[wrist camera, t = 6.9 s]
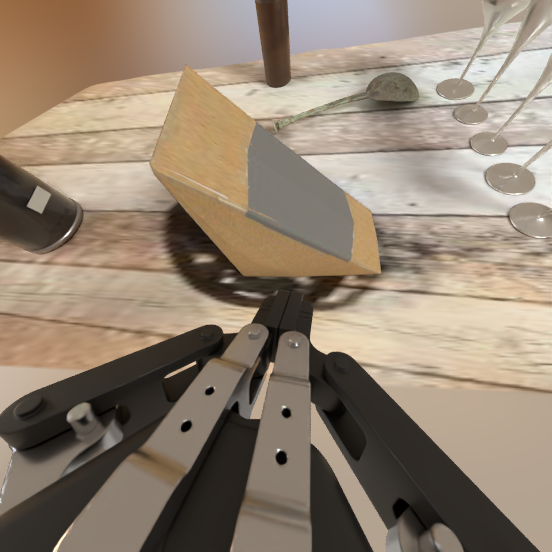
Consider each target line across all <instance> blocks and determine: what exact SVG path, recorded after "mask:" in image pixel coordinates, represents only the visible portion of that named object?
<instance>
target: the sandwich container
mask: <svg viewBox="0 0 552 552" xmlns="http://www.w3.org/2000/svg"><path fill="white" fill-rule="evenodd" d="M149 164H150V166H151V168H152V171H153V173H154V175H155V176H156V177H157V178H158V180H159V181H160V182H161V183H162V184H163V185H164V186H165V188H166V189H167V190H168V191H169V192H170V193H171V194H172V195H173V197H174V198H175V199H176V200H177V201H178V202H179V203H180V205H181V206H182V207H183V208H184V209H185V210H186V211H187V212H188V214H189V215H190V216H191V217H192V218H193V219H194V220H195V222H196V223H197V224H198V225H199V226H200V227H201V228H202V230H203V231H204V232H205V233H206V234H207V235H208V236H209V237H210V239H211V240H212V241H213V242H214V243H215V244H216V245H217V247H218V248H219V249H220V250H221V251H222V252H223V253H224V254H225V256H226V257H227V258H228V259H229V260H230V261H231V262H232V263H233V265H234V266H235V267H236V268H237V269H238V270H239V271H240V273H241V274H242V275H244V276H272V277H305V276H333V275H362V274H381V269H380V260H379V252H378V243H377V237H376V232H375V228H374V223H373V218H372V214H371V211H370V210H369V209H368V208H366V207H365V206H363V205H362V204H361V203H359V202H358V201H357V200H355V199H354V198H353V197H351V196H350V195H349V194H347V193H346V192H345V191H343V190H342V189H341V188H339V187H338V186H337V185H336V184H334V183H333V182H332V181H330V180H329V179H328V178H326V177H325V176H324V175H323V174H321V173H320V172H319V171H317V170H316V169H315V168H314V167H312V166H311V165H310V164H309V163H307V162H306V161H305V160H304V159H303V158H301V157H300V156H299V155H297V154H296V153H295V152H293V151H292V150H291V149H289V148H288V147H287V146H286V145H284V144H283V143H282V142H280V141H279V140H278V139H277V138H275V137H274V136H273V135H272V134H270V133H269V132H268V131H267V130H266V129H264V128H263V127H262V126H261V125H259V124H258V123H257V122H256V121H254V120H253V119H252V118H251V117H250V116H248V115H247V114H246V113H245V112H243V111H242V110H241V109H240V108H238V107H237V106H236V105H235V104H234V103H232V102H231V101H230V100H229V99H227V98H226V97H225V96H224V95H222V94H221V93H220V92H219V91H218V90H216V89H215V88H214V87H213V86H211V85H210V84H209V83H208V82H207V81H205V80H204V79H203V78H202V77H201V76H199V75H198V74H197V73H196V72H195V71H193V70H192V69H191V68H190V67H188V66H187V65H186V66H185V68H184V71H183V74H182V76H181V79H180V82H179V84H178V87H177V90H176V92H175V95H174V98H173V100H172V103H171V106H170V109H169V111H168V114H167V117H166V120H165V122H164V125H163V128H162V130H161V133H160V136H159V139H158V141H157V144H156V147H155V150H154V152H153V155H152V158H151V160H150V163H149Z"/></svg>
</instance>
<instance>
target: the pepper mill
mask: <svg viewBox="0 0 552 552" xmlns="http://www.w3.org/2000/svg"><path fill="white" fill-rule="evenodd" d="M255 3H256V10H257V17H258V25H259V32H260V39H261V46H262V53H263V61H264V68H265V75H266V82H267V84H268V85H269V86H270V87H281V86H284V85H286V84H287V83H288V82H289V81H290V80H291V68H290V49H289V48H290V47H289V26H288V5H287V0H255Z"/></svg>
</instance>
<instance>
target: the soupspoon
mask: <svg viewBox="0 0 552 552" xmlns="http://www.w3.org/2000/svg"><path fill="white" fill-rule="evenodd" d="M367 98H370V99H374V100H384V101H399V102H401V101H413V102H414V101H416V100H418V98H419V93H418V90H417V87H416V86H415V84H414V83H413V81H412V80H411V79H410V78H409V77H407V76H405V75H403V74H401V73H395V72H391V73H385V74H382V75H380V76H378V77H376V78H374V79H373V80H372V81H371V82H370V84H369V85H368V87H367V90H366V92H364V93H360V94H356V95H352V96H349V97H345V98H342V99H339V100H337V101H334V102H331V103H328V104H325V105H323V106H320V107H317V108H314V109H312V110H309V111H306V112H303V113H301V114H298V115H296V116H293V117H292V116H290V118H289V119H287V118H285V119H283V120H281V121H280V120H278V121H277V123H275V122H274V121H273V125H274V129H275V132H276V134H277V133H278V129H282V127H284V126H287V125H288V124H289V123H290V122H291V123H293V122H294V121H295V120H298V119H301V118H304V117H306V116H309V115H312V114H315V113H318V112H322V111H325V110H327V109H330V108H333V107H336V106H339V105H343V104H346V103H350V102H354V101H358V100H363V99H367Z"/></svg>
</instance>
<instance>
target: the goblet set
mask: <svg viewBox="0 0 552 552" xmlns="http://www.w3.org/2000/svg"><path fill="white" fill-rule="evenodd" d="M482 8H483V14H484V30H483V34H482V37H481V39H480V42H479V44H478V46H477V48H476V50H475V52H474V54H473V56H472V58H471V60H470V62H469V63H468V65H467V67H466V69H465V70H464V72H463V74H462V75H461V77H460V79H456V78H455V79H448V80H445V81H443V82H441V83H440V84H439V85H438V87H437V91H438V93H439V94H440V95H441V96H442V97H444V98H447V99H453V100H458V99H464V98H467V97H469V96H470V95H471V94H472V93H473V92H474V86H473V85H472V84H471V83H470V82H469V81H467V80H464V79H463V78H464V76H465V74H466V72H467V71H468V69H469V67H470V66H471V64H472V62H473V61H474V59H475V57H476V56H477V54H478V53H479V51H480V50H481V48H482V47H483V45H484V44H485V43H486V41H487V40H488V39H489V38H490V36H491V35H492V34H493V33H494V32H495V31H496V30H497V29H498V28H499V27H500V26H501V25H503V24H504V23H505V22H507V21H508V20H509V19H511V18H512V17H514V16H515V15H517V14H518V13H520V12H521V11H522V10H524V9H525V8H527V10H526V12H525V15H524V17H523V20H522V23H521V26H520V29H519V32H518V35H517V37H516V40H515V42H514V45H513V47H512V49H511V51H510V53H509V55H508V57H507V59H506V60H505V62H504V64H503V65H502V67H501V69H500V70H499V72H498V73H497V75H496V76H495V78H494V79H493V81H492V82H491V84H490V85H489V87H488V88H487V89H486V91H485V92H484V94H483V95H482V97H481V98H480V100H479V101H478V102H477V104H476V105H472V104H469V105H463V106H460V107H458V108H457V109H456V110H455V112H454V116H455V118H456V119H457V120H458V121H460V122H462V123H465V124H479V123H481V122H483V121H485V120H486V119H487V117H488V113H487V111H486V110H485V109H484V108H483V107H481V106H479V104H480V103H481V101H482V100H483V99H484V97H485V96H486V95H487V93H488V92H489V91H490V89H491V88H492V87H493V85H494V84H495V83H496V81H497V80H498V79H499V77H500V76H501V75H502V74H503V72H504V71H505V70H506V68H507V67H508V66H509V65H510V63H511V62H512V61H513V60H514V59H515V58H516V57H517V55H518V54H519V53H520V52H521V51H522V50H523V49H524V48H525V47H526V46H527V45H528V44H529V43H530V42H532V41H533V40H534V39H535V38H536V37H537V36H538V35H539V34H540V33H542V32H543V31H544V30H545V29H546V28H547V27H548V26H550V25H551V24H552V0H482ZM551 83H552V54H551V56H550V58H549V60H548V63H547V65H546V67H545V69H544V71H543V73H542V75H541V77H540V79H539V81H538V82H537V84H536V85H535V87H534V88H533V90H532V91H531V93H530V94H529V95H528V97H527V98H526V99H525V101H524V102H523V103H522V104H521V105H520V107H519V108H518V109H517V110H516V111H515V113H514V114H513V115H512V116H511V117H510V118H509V120H508V121H507V122H506V123H505V124H504V125H503V126H502V127H501V129H500V130H499V131H498V132H497V133H496V134H495V133H488V132H486V133H480V134H477V135H475V136H474V137H473V138H472V139H471V142H470V144H471V147H472V148H473V149H474V150H475V151H476V152H478V153H480V154H483V155H490V156H492V155H499V154H501V153H503V152H504V151H506V149H507V147H508V143H507V141H506V140H505V139H504V138H503V137H502V136H500V135H499V134H500V133H501V132H502V131H503V130H504V129H505V127H506V126H507V125H508V124H509V123H510V122H511V121H512V120H513V119H514V118H515V117H516V116H517V115H518V114H519V113H520V112H521V111H522V110H523V109H524V108H525V107H526V106H527V105H528V104H529V103H530V102H531V101H532V100H533V99H534V98H535V97H536V96H537V95H538V94H539V93H540V92H541V91H543V90H544V89H545V88H546V87H547V86H549V85H550V84H551ZM551 148H552V140H551V141H550V142H549V143H548V144H547V145H546V146H545V147H544V148H542V149H541V150H540V151H539V152H538V153H537V154H535V155H534V156H533V157H532V158H531V159H530V160H528V161H527V162H526V163H525V164H524V165H522V166H520V165H517V164H512V163H500V164H496V165H494V166H492V167H490V168H489V169H488V171H487V172H486V180H487V182H488V184H489V185H490V186H491V187H492V188H494V189H495V190H497V191H499V192H502V193H505V194H509V195H520V194H525V193H527V192H529V191H531V190H532V189H533V188H534V186H535V178H534V176H533V174H532V173H531V172H530V171H529V170H528V169H526V167H528V166H529V165H530V164H531V163H533V162H534V161H535V160H536V159H538V158H539V157H540V156H542V155H543V154H544V153H545V152H547V151H548V150H549V149H551ZM510 221H511V223H512V224H513V226H514V227H515V228H516V229H517V230H519V231H520V232H522V233H523V234H525V235H528V236H531V237H535V238H550V237H552V208H549V207H547V206H545V205H542V204H538V203H521V204H518V205H516V206H515V207H514V208H513V209H512V210H511V211H510Z"/></svg>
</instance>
